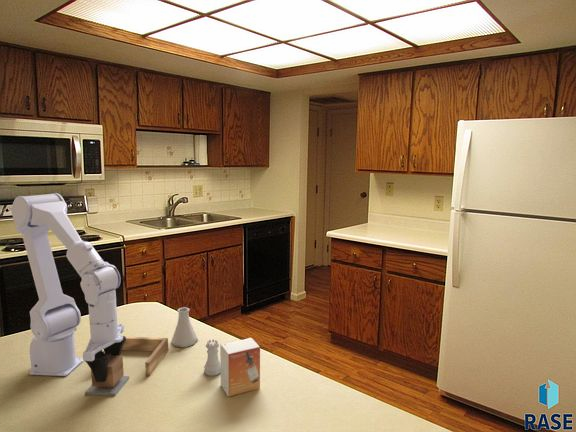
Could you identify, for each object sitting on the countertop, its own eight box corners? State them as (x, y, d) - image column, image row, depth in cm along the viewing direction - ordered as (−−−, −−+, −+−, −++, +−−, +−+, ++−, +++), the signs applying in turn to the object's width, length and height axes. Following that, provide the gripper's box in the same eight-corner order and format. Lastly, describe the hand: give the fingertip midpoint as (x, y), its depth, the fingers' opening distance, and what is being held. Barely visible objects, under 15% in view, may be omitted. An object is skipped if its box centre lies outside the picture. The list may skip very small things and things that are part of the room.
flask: (202, 340, 117) (201, 308, 116) (184, 350, 111) (182, 316, 110) (185, 334, 121) (183, 302, 119) (166, 343, 115) (164, 310, 113)
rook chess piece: (218, 377, 98) (217, 347, 97) (201, 375, 99) (200, 345, 98) (224, 368, 102) (224, 338, 101) (208, 366, 103) (207, 336, 102)
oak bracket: (94, 373, 99) (93, 360, 99) (119, 348, 112) (118, 336, 111) (149, 375, 98) (149, 362, 98) (168, 349, 111) (167, 338, 111)
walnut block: (92, 386, 91) (90, 365, 91) (103, 374, 96) (102, 354, 96) (113, 387, 91) (112, 366, 90) (123, 375, 96) (122, 355, 95)
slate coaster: (85, 394, 91) (85, 391, 91) (101, 377, 98) (101, 374, 98) (115, 395, 90) (115, 393, 90) (129, 378, 97) (129, 376, 97)
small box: (228, 398, 90) (227, 354, 88) (220, 385, 95) (219, 343, 93) (260, 388, 94) (260, 346, 92) (251, 376, 99) (251, 336, 97)
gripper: (104, 334, 84) (108, 393, 86) (134, 307, 98) (137, 359, 100) (71, 332, 84) (76, 392, 87) (106, 306, 99) (109, 357, 101)
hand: (107, 374), depth 93 cm, fingers closed on walnut block, 5 cm apart
